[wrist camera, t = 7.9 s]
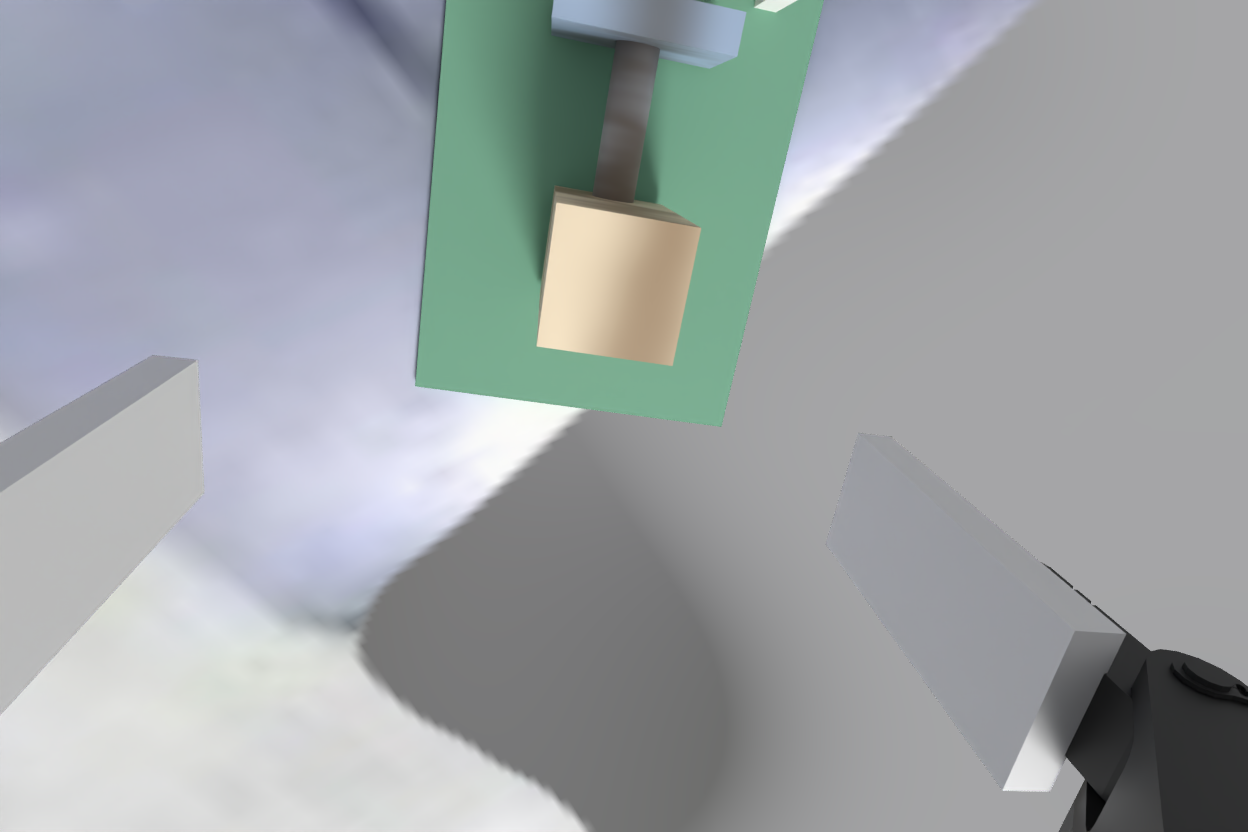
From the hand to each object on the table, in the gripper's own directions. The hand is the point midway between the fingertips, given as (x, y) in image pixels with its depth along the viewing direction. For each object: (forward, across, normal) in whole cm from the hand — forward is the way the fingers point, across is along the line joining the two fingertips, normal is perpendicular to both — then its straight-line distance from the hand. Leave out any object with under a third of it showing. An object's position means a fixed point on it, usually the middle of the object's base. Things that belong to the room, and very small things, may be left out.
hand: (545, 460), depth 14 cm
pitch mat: (+22, +3, +6) cm, 23 cm away
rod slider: (+21, +3, +5) cm, 22 cm away
